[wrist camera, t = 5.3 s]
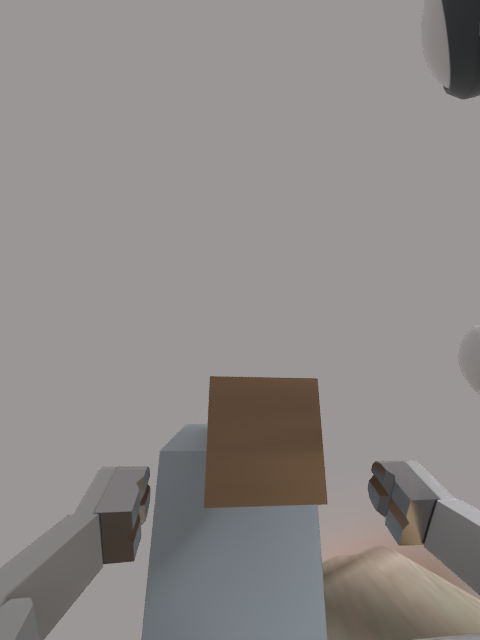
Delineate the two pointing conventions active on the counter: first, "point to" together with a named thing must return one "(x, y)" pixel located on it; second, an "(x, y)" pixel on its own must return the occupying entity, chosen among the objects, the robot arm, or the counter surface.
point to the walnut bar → (264, 443)
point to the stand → (228, 560)
